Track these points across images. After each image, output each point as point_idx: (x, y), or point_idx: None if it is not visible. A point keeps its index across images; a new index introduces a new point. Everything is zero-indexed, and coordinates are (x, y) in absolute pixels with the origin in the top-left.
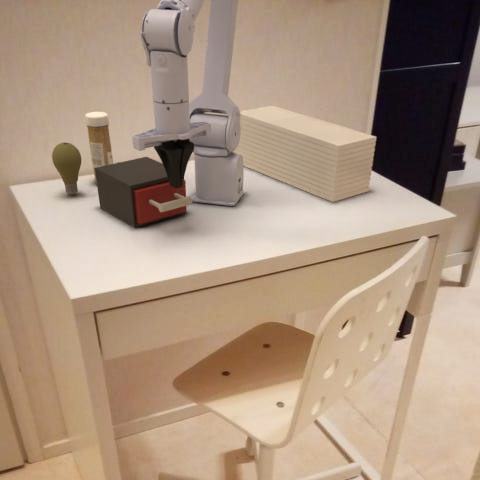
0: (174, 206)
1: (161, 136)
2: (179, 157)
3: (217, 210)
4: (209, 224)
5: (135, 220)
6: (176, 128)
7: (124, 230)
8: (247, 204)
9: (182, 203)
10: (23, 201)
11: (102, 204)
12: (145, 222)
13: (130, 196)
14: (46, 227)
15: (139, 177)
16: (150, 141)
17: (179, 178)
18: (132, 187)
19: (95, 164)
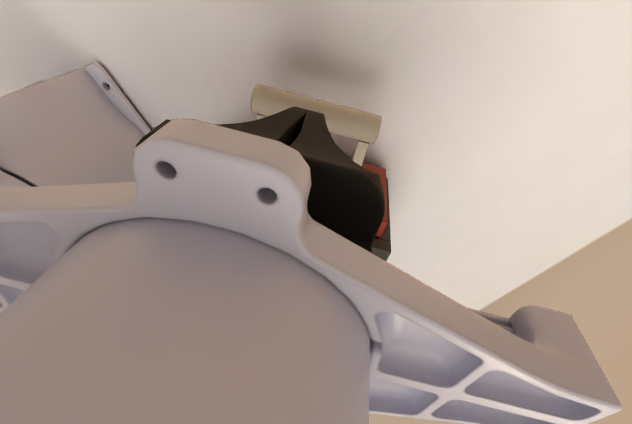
0: (332, 104)
1: (445, 323)
2: (298, 149)
3: (154, 84)
4: (234, 28)
5: None
6: (278, 313)
7: (412, 187)
8: (52, 40)
9: (298, 95)
10: None
11: None
12: (370, 165)
13: (389, 231)
14: (476, 297)
15: None
16: (515, 335)
17: (306, 118)
18: (383, 245)
19: None
